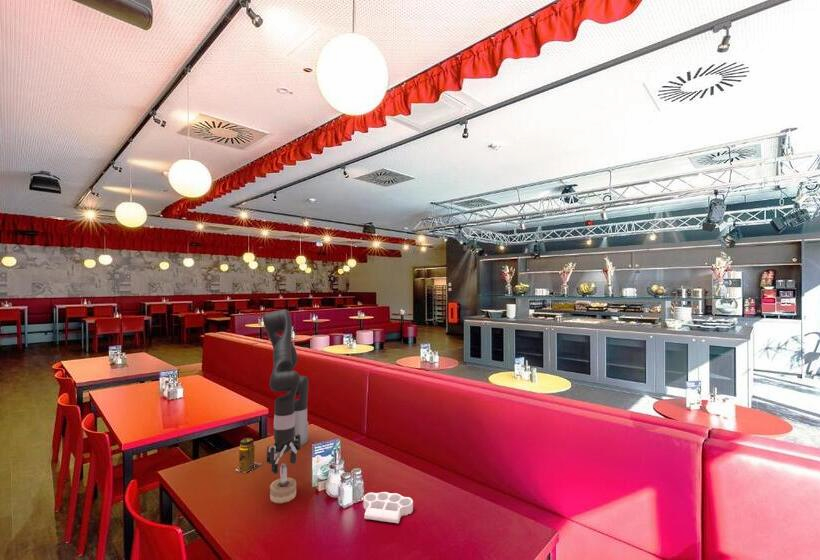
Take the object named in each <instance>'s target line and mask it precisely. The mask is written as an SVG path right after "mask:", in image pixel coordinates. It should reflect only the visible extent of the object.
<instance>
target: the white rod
mask: <svg viewBox="0 0 820 560" xmlns="http://www.w3.org/2000/svg"><path fill="white" fill-rule="evenodd" d="M279 473H280V474H279V476H280V477H279V479H280V487H286V486H287V478H288V466H287V463H285V462H282V463H281V465H280V468H279Z"/></svg>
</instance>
